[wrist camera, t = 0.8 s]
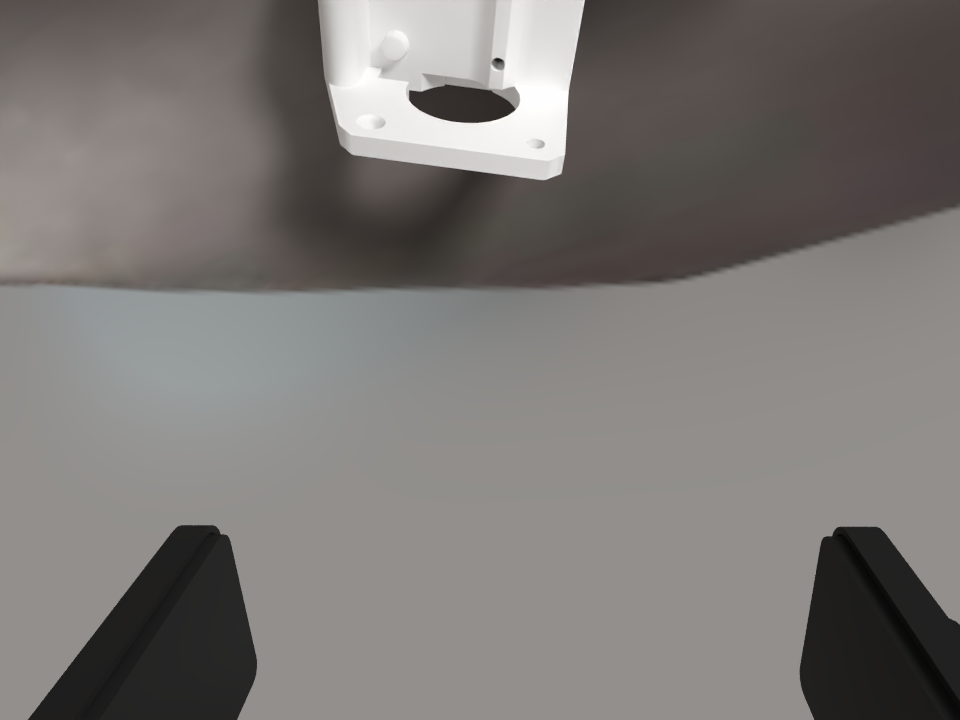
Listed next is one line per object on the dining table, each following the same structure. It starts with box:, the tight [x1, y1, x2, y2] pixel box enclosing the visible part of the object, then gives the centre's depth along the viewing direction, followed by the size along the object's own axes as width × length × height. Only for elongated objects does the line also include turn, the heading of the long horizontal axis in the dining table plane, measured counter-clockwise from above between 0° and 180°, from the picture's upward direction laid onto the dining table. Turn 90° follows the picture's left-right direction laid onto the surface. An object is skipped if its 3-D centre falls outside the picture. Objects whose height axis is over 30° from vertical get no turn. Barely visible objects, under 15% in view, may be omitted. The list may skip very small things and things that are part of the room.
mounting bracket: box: [318, 0, 585, 180], centre depth 28 cm, size 12×6×11 cm, turn 83°
